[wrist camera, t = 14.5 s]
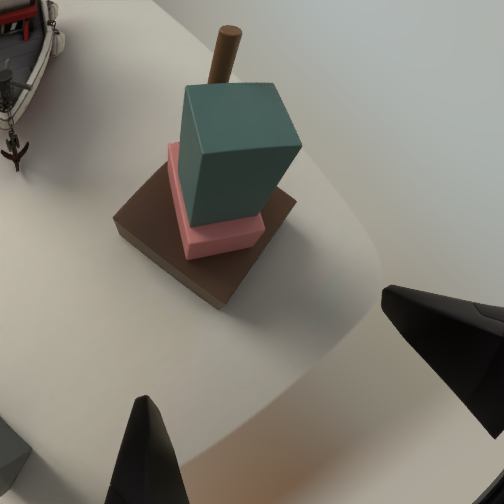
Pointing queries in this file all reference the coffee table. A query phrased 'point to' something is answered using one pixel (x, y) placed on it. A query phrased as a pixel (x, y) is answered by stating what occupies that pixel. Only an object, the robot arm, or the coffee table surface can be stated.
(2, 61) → the toy boat
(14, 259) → the coffee table surface
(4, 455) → the grey rectangular block
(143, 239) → the walnut block
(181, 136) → the peg stacking toy
